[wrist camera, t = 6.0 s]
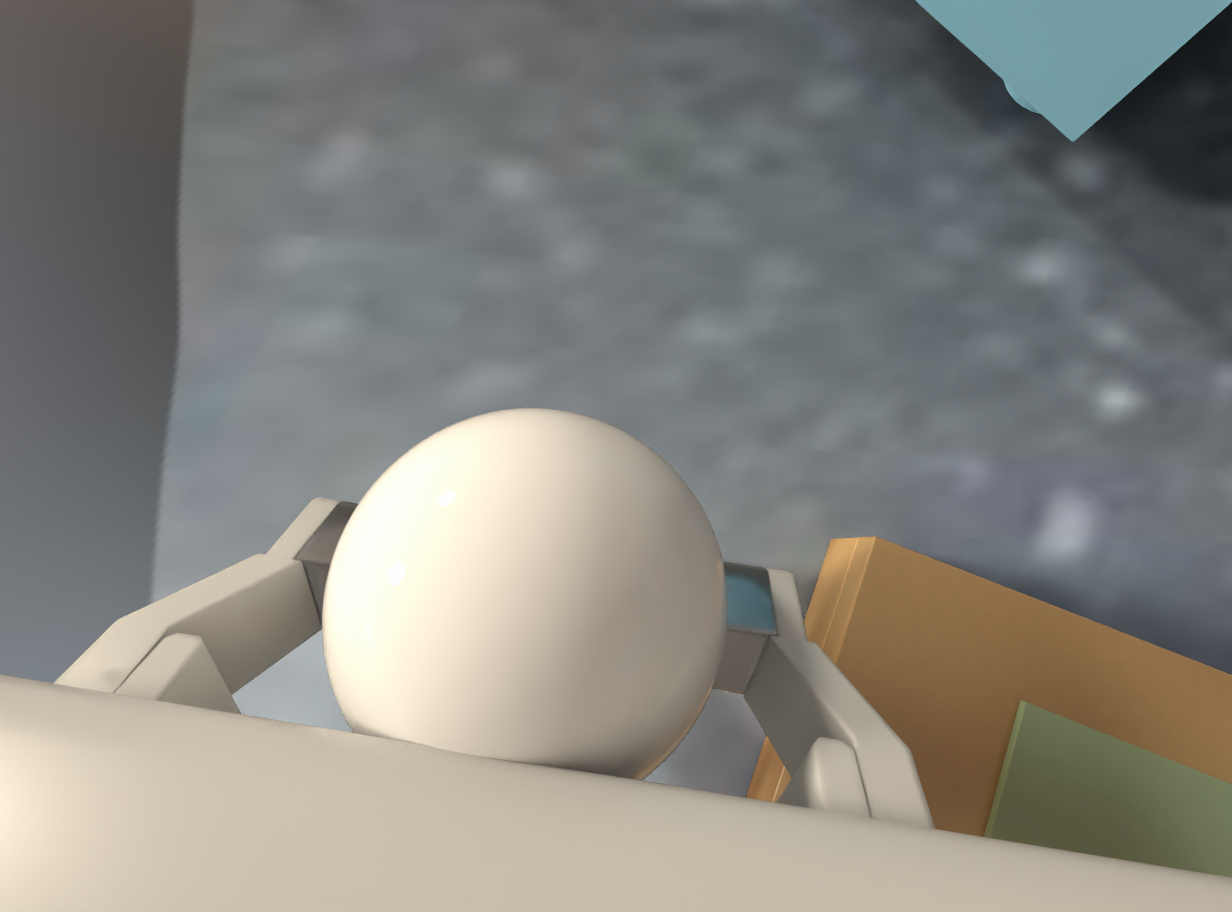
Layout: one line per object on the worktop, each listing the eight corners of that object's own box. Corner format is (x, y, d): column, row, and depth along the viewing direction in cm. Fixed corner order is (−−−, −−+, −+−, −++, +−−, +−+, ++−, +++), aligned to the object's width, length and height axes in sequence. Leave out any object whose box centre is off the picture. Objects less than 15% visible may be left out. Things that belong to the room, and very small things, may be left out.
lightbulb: (714, 544, 17) (880, 539, 7) (600, 729, 17) (575, 1074, 6) (542, 433, 18) (433, 258, 7) (424, 607, 17) (93, 710, 6)
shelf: (1270, 1197, 15) (1448, 1373, 12) (695, 946, 16) (716, 1046, 13) (1349, 740, 17) (1522, 785, 14) (830, 537, 18) (878, 535, 14)
